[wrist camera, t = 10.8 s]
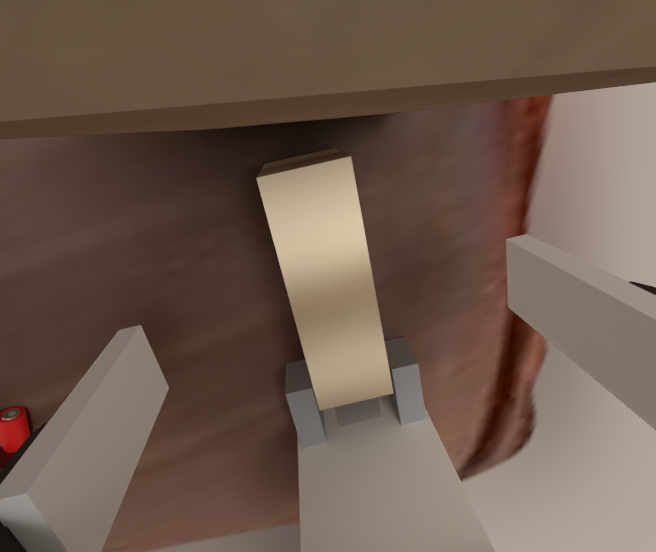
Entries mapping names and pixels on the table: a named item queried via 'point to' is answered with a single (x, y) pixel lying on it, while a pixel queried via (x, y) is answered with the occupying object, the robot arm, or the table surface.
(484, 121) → the table surface
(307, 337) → the rail
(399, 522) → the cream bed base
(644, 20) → the block
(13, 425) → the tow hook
